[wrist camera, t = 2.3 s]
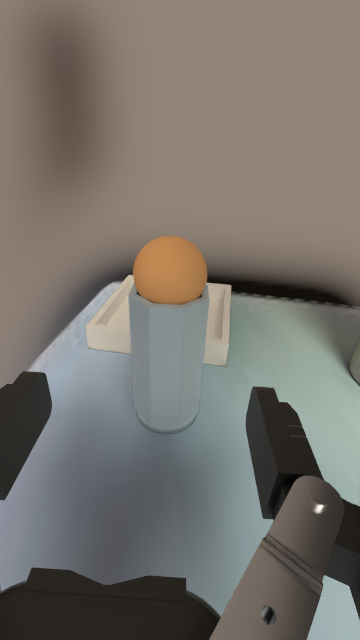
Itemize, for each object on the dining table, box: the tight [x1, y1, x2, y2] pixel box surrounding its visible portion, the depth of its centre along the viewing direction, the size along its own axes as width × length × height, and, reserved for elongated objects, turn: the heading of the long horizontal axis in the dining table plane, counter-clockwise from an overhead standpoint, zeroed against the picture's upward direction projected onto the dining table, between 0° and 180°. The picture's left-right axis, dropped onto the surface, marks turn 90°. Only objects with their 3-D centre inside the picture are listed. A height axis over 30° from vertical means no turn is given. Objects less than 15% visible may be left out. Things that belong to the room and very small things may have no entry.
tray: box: [86, 275, 231, 366], centre depth 41 cm, size 16×16×3 cm
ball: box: [133, 236, 207, 305], centre depth 22 cm, size 5×5×5 cm
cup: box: [128, 283, 210, 434], centre depth 25 cm, size 6×6×12 cm
